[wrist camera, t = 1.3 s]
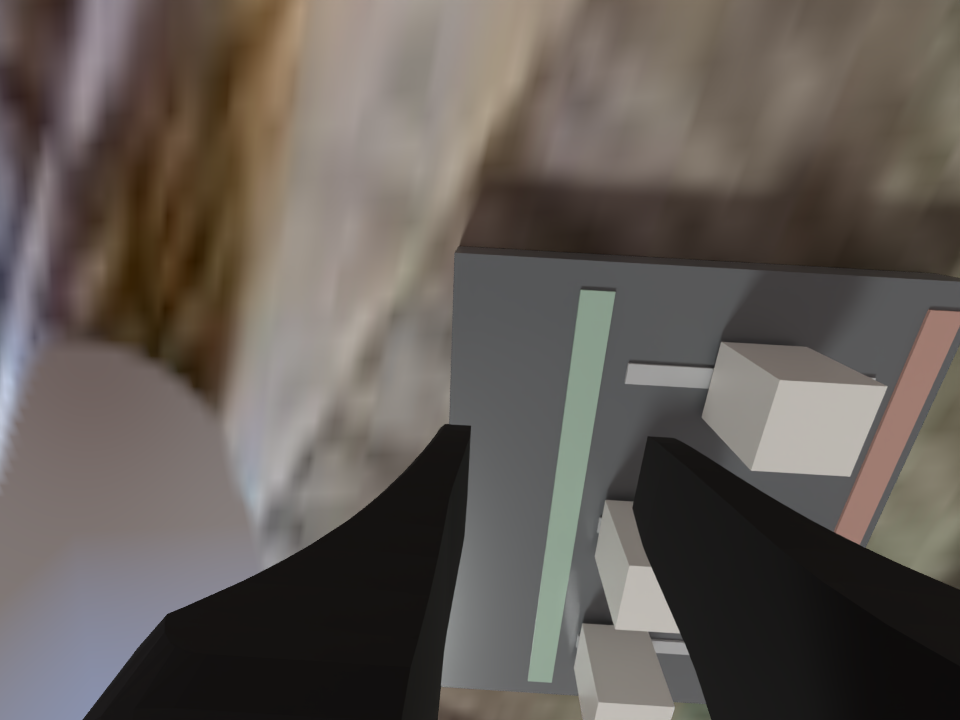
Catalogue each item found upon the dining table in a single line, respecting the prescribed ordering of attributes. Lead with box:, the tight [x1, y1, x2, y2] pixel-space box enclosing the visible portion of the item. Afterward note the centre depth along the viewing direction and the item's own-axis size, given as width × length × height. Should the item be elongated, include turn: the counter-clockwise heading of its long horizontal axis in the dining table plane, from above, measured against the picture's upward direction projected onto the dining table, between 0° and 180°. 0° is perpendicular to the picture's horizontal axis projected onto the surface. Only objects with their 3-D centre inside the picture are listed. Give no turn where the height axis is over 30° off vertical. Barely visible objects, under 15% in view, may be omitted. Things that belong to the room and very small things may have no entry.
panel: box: [441, 246, 960, 704], centre depth 20 cm, size 18×22×2 cm
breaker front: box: [702, 342, 888, 477], centre depth 14 cm, size 3×3×3 cm
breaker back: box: [574, 623, 675, 720], centre depth 19 cm, size 3×3×3 cm
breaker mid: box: [595, 500, 680, 633], centre depth 17 cm, size 3×3×3 cm
